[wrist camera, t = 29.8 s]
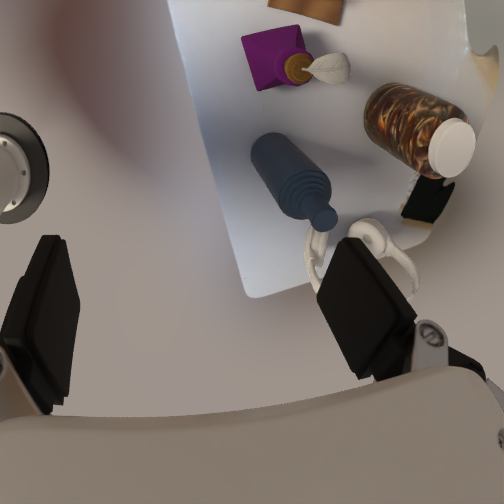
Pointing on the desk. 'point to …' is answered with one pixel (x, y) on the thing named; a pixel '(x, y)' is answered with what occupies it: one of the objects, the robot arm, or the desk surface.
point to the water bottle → (294, 181)
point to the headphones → (371, 237)
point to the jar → (420, 130)
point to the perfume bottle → (290, 60)
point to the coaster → (311, 8)
